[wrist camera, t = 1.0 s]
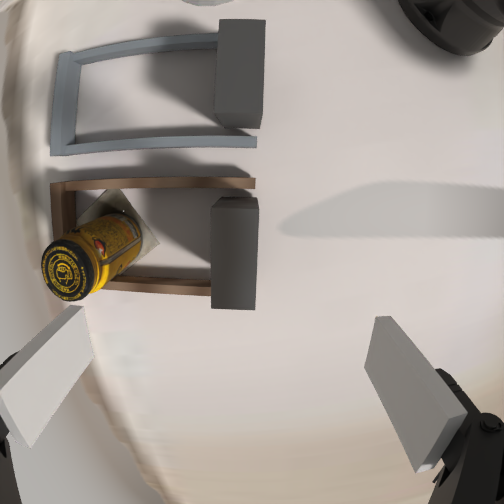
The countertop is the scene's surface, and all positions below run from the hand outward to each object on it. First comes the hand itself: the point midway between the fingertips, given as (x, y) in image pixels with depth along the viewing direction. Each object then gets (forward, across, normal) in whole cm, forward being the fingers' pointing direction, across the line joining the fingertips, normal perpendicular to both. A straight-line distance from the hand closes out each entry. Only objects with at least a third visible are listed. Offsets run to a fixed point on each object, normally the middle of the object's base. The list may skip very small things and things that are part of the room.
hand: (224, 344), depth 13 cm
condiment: (+21, -14, 0) cm, 25 cm away
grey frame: (+20, -10, +15) cm, 27 cm away
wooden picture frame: (+20, -10, 0) cm, 23 cm away
